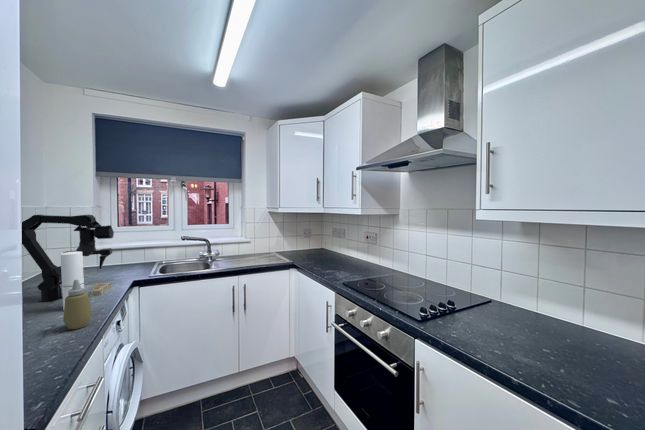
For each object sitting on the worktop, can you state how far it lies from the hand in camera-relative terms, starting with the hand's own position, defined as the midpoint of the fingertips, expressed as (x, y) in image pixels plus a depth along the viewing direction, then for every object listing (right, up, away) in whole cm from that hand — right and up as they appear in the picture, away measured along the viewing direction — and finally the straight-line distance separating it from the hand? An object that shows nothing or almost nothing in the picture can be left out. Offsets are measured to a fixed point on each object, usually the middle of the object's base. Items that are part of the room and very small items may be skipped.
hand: (88, 269), depth 135 cm
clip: (+3, -14, -4) cm, 14 cm away
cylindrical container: (+7, -14, -15) cm, 22 cm away
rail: (-1, -13, +8) cm, 15 cm away
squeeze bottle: (+25, -15, -33) cm, 44 cm away
